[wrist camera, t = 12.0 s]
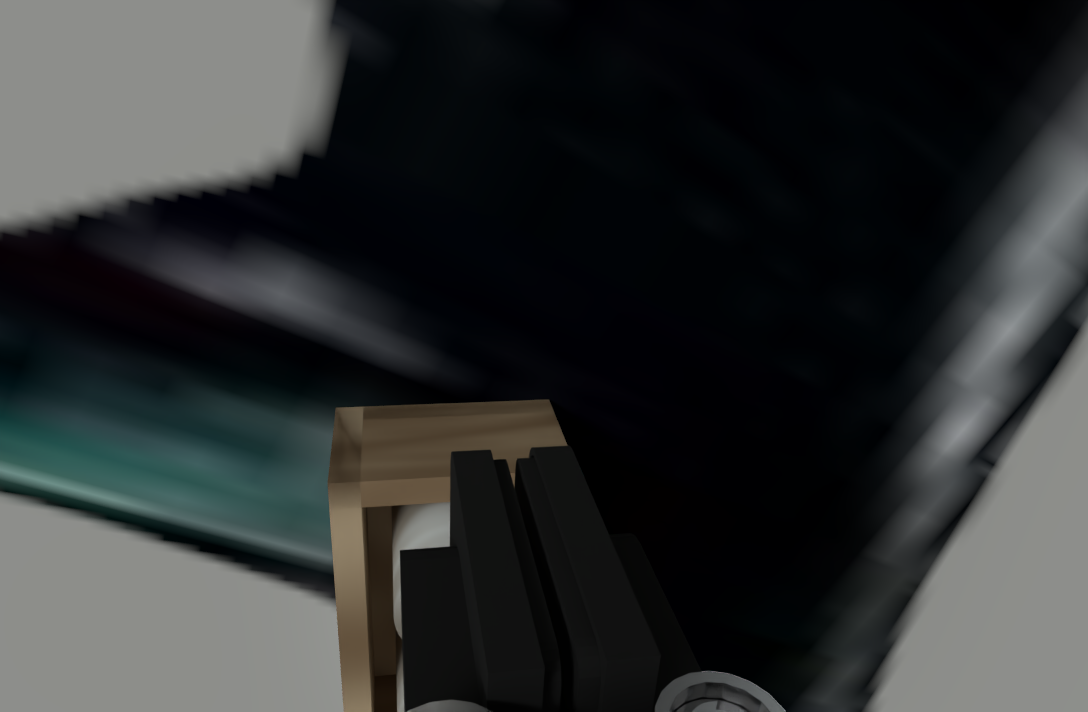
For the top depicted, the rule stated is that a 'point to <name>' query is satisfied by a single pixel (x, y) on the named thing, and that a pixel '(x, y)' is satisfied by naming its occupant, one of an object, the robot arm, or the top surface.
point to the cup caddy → (403, 516)
